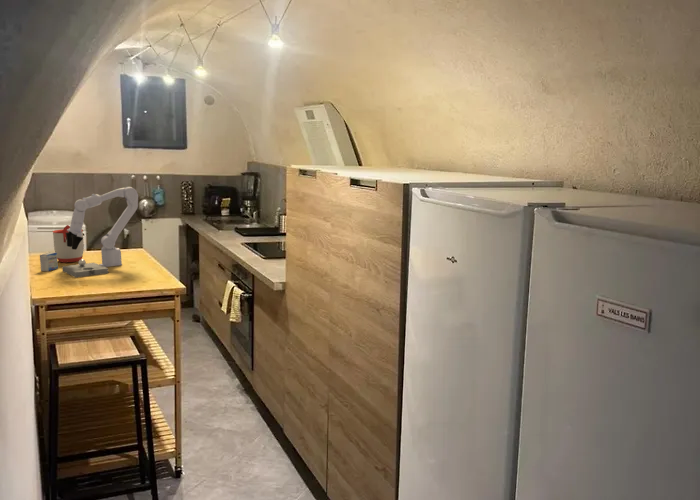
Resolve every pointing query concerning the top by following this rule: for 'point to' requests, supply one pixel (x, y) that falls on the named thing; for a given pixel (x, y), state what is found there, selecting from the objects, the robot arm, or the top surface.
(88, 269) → the board
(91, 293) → the top surface
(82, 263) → the ball
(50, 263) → the medicine box
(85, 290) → the top surface
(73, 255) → the citrus juicer
